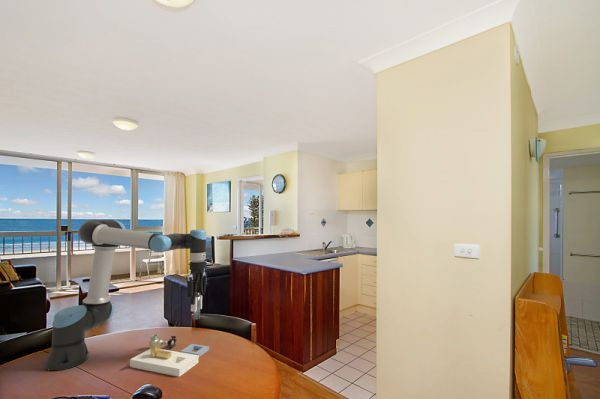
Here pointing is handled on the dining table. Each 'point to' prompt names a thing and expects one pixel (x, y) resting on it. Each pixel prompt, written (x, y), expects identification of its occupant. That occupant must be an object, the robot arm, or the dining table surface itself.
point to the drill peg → (197, 314)
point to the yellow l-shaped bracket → (159, 351)
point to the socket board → (165, 362)
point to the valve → (155, 339)
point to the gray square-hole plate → (200, 348)
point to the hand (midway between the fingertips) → (196, 309)
